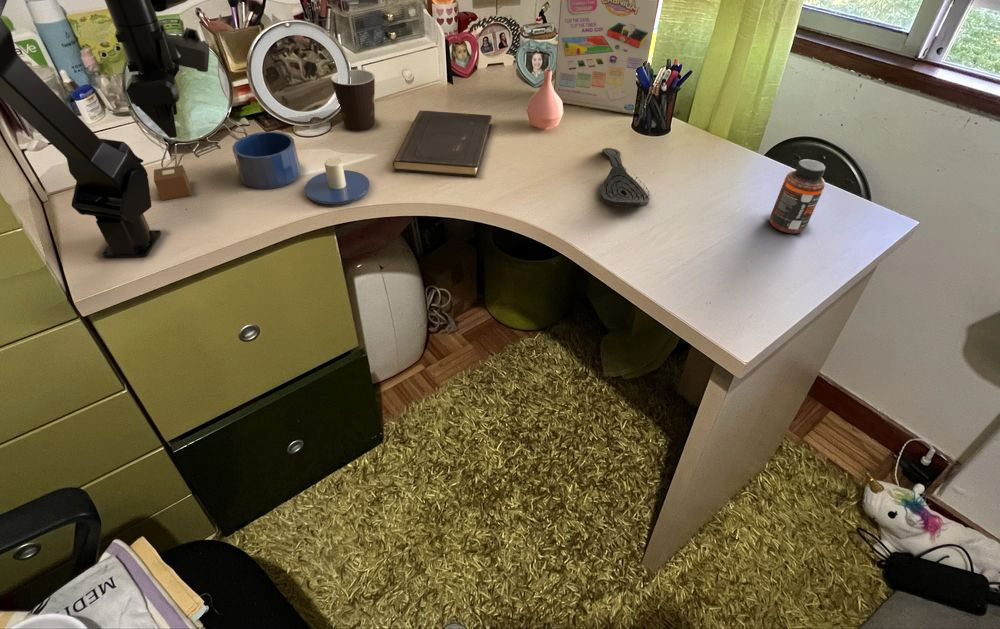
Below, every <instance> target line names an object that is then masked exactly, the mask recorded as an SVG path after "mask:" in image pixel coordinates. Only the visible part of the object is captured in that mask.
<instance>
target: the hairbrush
mask: <svg viewBox="0 0 1000 629" xmlns="http://www.w3.org/2000/svg"><path fill="white" fill-rule="evenodd" d="M601 154H602V156H603V158H605V159H606V160H607V161H608V162H609V164H610V167H611V168H610V170H609V172H608V174H607V176H606V177H605V179H604V180H603V182H602V183H601V185H600V192H599V196H600V197H599V198H600V199H601V201H602V202H603V203H604V204H607V205H610V206H614V207H625V208H642V207H648V205H649V203H650V198H649V197H650V190H649V189H648V187H647V186H646V185H645V184H644V182H643V183H642V180H640V179H638V178H639V177H638V176H636V173H634V174H633V175H634V176H636V177H635V178H634V176H631V174H628V172H627V168H625V167H624V164H623V162H622V158H621V151H620V150H618V149H616V148H612V147H605V148H603V149H601ZM637 179H638V181H639V182H638V181H637ZM641 185H643V186H644V187H642V186H641ZM644 188H645V189H644ZM646 191H647V192H646Z"/></svg>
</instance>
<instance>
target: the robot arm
mask: <svg viewBox="0 0 1000 629" xmlns="http://www.w3.org/2000/svg"><path fill="white" fill-rule="evenodd" d="M188 1H189V0H104V2H105V5H106V7H107V11H108V12H109V15H110V18H111V20H112V23H113V25H114V28H115V34H114V35H115V38H116V41H117V43H120V44H121V46H122V50H123V52H124V55H125V57H126V59H127V62H126V63H127V64H126V67H127V69H128V72H129V73H135V74H131V76H130V77H129V79H128V81H127V83H126V88H125V91H126V94H127V96H128V99H129V102H130V104H132V105H134V106H135V107H138V108H139V110H141V111H142V112H143V113H144V114H145V115H146V116H147V117H148V118H149V119H150V120H151V121H152V122H153V123H154V124H156V126H157V127H158V128H159V129H160V130H161V131H162V132H163V133H164V134H165V135H166V136H167V138H169V139H174V138H178V133H177V126H176V120H175V116H176V115H178V108H177V103H178V102H179V101H180V90H179V86H178V83H177V80H176V76H177V75H178V73H179V72H180V66H181V67H185V68H190V69H193V70H196V71H197V72H201V73H208V72H209V63H210V44H209V43H207V41H206V40H205V39H204V40H203V39H201V37H200V35H199V32H198V30H197V29H194V28H190V27H186V28H185V29H184V30H183V32H182V33H181V34H179V33H176V35H175V34H171V33H167V30H166V28H165V24H162V22H161V21H159V19H158V15H157V13H162V12H164V11H167V10H170V9H172V8H174V7H176V6H179V5H182V4H184V3H186V2H188ZM7 2H8V0H0V99H1V100H3V101H4V102H5V103H6V104H7V105H8V106H9V107H10V108H11V109H12V110H14V112H16V113H17V114H18V115H19V116H20V117H21V118H22V119H24V121H26V122H27V123H28V124H29V125H30V126H31V127H32V128H33V129H34V130H35V131H37V132H38V133H39V134H40V135H41V136H42V137H43V138H44V139H45V140H46V141H47V142H49V143H50V144H51V145H52V146H54V148H55V149H56V150H57V151H58V152H60V153H61V154H62V155H63V156H64V157H65V159H66V162H67V167H68V172H69V173H70V175H71V177H72V178H74V180H75V181H76V182H75V187H74V191H73V196H72V200H71V207H72V209H73V210H75V211H76V212H77V213H78V214H79V215H82V216H92V217H94V218H95V219H96V221H95V223H96V226H97V227H98V229H99V231H100V233H101V235H102V237H103V239H104V240H105V242H106V245H107V246H106V247H105V249H104V250H103V251H102V252H101V255H102V257H103V258H141V257H142V258H144V257H147V256H149V254H150V252H151V251H152V250H153V248H154V246H155V245H156V243H157V241H158V240H159V238H160V237H161V236H162V231H161V230H160V229H150V226H149V223H148V221H147V219H146V217H145V215H144V214H145V213H146V212H147V211H148V210H149V209H151V208H152V206H153V205H152V199H151V190H150V184H149V182H150V181H149V177H148V176H149V174H148V170H147V169H146V167H145V166H144V165H143V163H144V159H142V158H140V157H138V156H137V155H136V153H135V152H134V151H133V150H132V148H131V147H130V146H129V144H127V143H126V142H125V141H121V140H114V139H108V138H100V137H99V136H98V135H97V134H96V133H95V132H94V131H93V130H92V129H91V128H90V127H89V126H88V125H87V124H86V123H85V122H84V121H83V120H82V119H81V118H80V117H79V116H78V115H77V114H76V113H75V112H74V111H73V110H72V109H71V108H70V107H69V106H68V105H67V104H66V103H65V102H64V100H63V99H62V98H60V97H59V95H57V93H55V91H54V90H52V88H51V87H50V86H49V85H48V84H47V83H46V82H45V81H44V80H43V79H42V78H41V77H40V76H39V75H38V74H37V73H36V71H34V70H33V69H32V68H31V67H30V66H29V65H28V64H27V63H26V62H25V60H24V59H23V58H21V56H20V55H19V54H18V52H17V50H16V46H15V41H14V38H13V33H12V31H11V29H10V27H9V26H8V25H7V23H6V22H5V21H4V19H3V18H2V15H3V12H4V10H5V7H6V4H7Z"/></svg>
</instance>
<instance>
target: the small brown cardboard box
mask: <svg viewBox="0 0 1000 629" xmlns="http://www.w3.org/2000/svg"><path fill="white" fill-rule="evenodd" d="M153 182H154V184H155V187H156V190H157V193H158V194H159V197H160V199H161V201H167V200H172V199H173V200H174V199H179V198H184V197H191V195H192V192H191V183H190V180H189V178H188V175H187V173H186V170H185V167H184V165H183V164H180V165H173V166H169V167H162V168H161V167H160V168H156V169H153Z"/></svg>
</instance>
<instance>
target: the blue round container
mask: <svg viewBox="0 0 1000 629" xmlns="http://www.w3.org/2000/svg"><path fill="white" fill-rule="evenodd" d="M232 153H233V156H234V159H235V163H236V166H237V169H238V172H239V173H238V174H239V176H240V179H241V182H242V183H243V184H244V185H245V186H247V187H249V188H253V189H259V190H272V189H278V188H282V187H286V186H288V185H290V184H292V183H294V182H295V181H296V180H298V179H299V177H300V176H301V173H302V171H301V170H302V169H301V165H300V160H299V156H298V152H297V148H296V143H295V139H294V138H293V137H292V136H291V135H290V134H288V133H285V132H279V131H259V132H254V133H251V134H247V135H245V136H242V137H241V138H238V139H237V140H236V141H235V142H234V143H233V145H232Z"/></svg>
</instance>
